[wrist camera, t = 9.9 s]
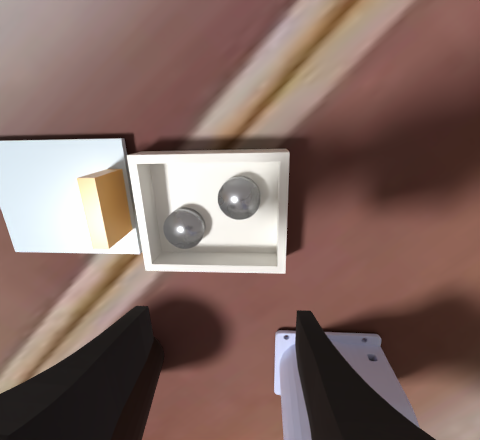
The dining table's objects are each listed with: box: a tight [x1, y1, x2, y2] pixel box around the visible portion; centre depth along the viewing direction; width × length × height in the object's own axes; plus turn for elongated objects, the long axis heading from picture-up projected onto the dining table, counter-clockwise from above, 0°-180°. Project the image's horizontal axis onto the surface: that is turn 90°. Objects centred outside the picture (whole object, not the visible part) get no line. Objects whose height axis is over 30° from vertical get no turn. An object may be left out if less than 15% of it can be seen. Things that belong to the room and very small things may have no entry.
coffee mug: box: [111, 336, 164, 440], centre depth 24 cm, size 12×9×10 cm
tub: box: [127, 149, 290, 273], centre depth 21 cm, size 11×9×3 cm
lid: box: [0, 138, 142, 254], centre depth 21 cm, size 11×9×5 cm
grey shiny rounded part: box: [163, 207, 206, 249], centre depth 22 cm, size 3×3×1 cm
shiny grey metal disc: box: [218, 176, 261, 220], centre depth 21 cm, size 3×3×1 cm
